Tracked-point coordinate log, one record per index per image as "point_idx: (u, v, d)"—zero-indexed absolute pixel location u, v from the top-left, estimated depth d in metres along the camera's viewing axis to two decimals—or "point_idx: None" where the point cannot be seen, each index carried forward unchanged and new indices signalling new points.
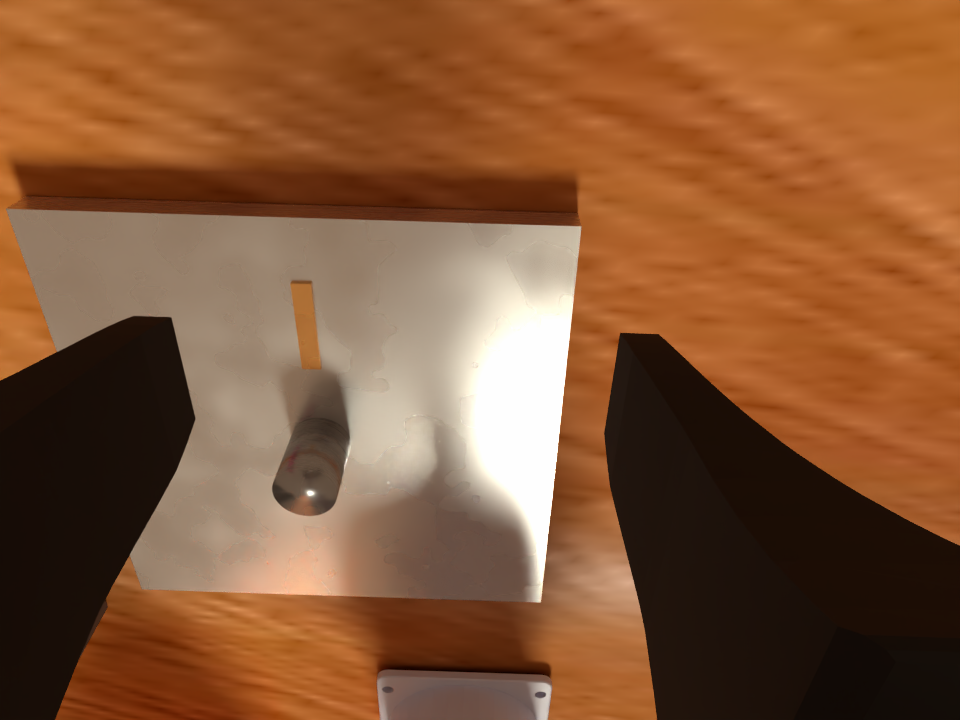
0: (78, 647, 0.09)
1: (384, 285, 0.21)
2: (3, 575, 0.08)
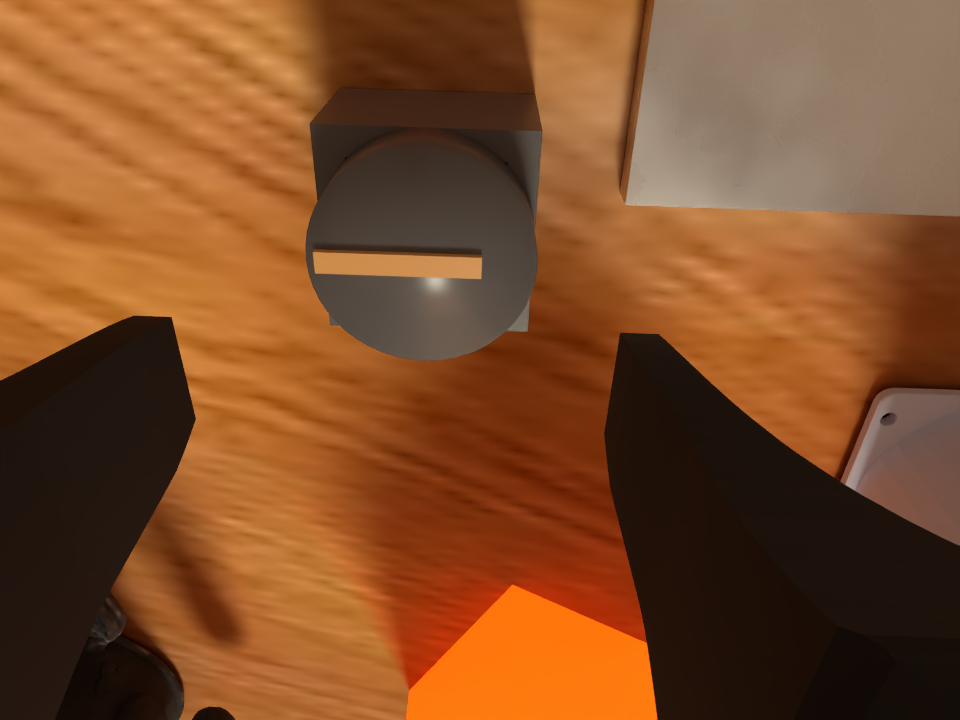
0: (78, 647, 0.09)
1: None
2: (3, 575, 0.08)
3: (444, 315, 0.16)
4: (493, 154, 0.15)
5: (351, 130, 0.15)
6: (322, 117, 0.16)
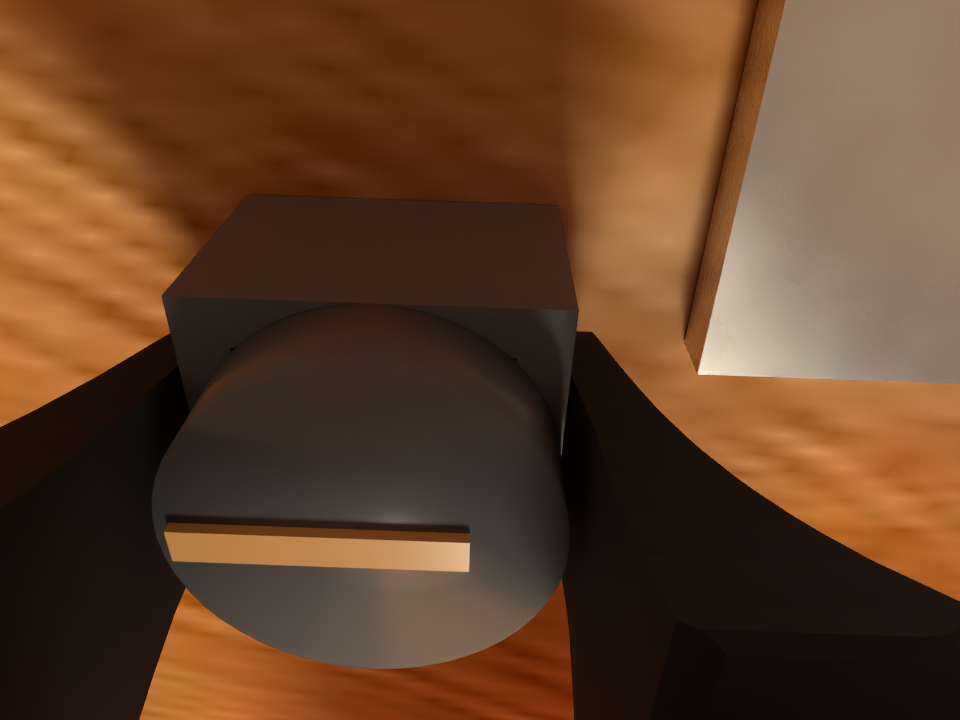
0: (157, 650, 0.09)
1: None
2: (98, 579, 0.08)
3: (406, 612, 0.09)
4: (491, 349, 0.09)
5: (238, 305, 0.09)
6: (190, 277, 0.09)
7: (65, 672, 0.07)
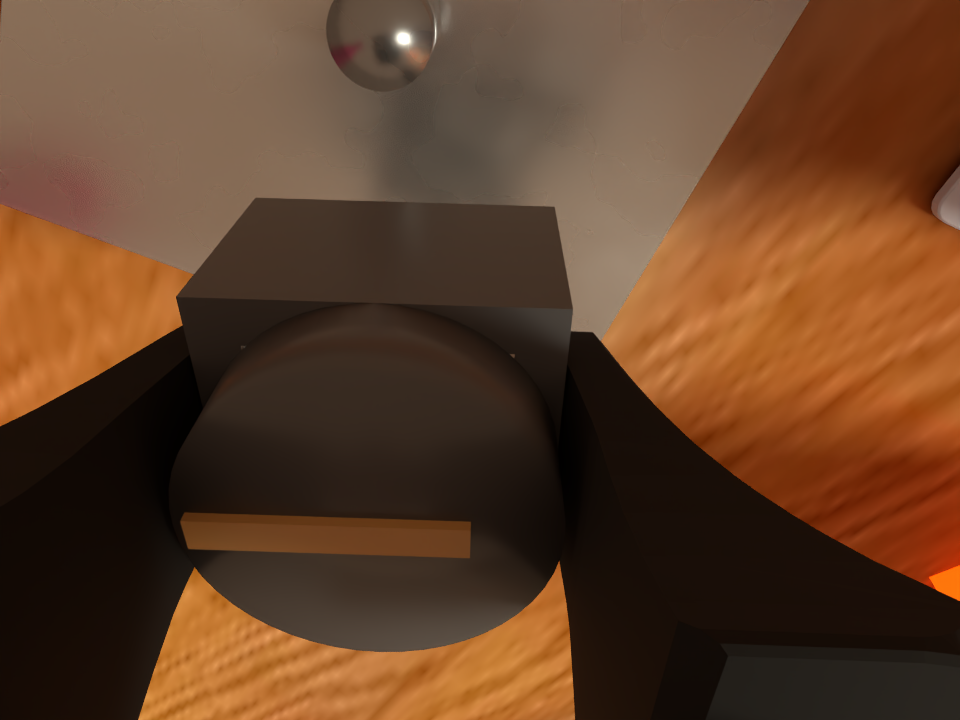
0: (156, 650, 0.09)
1: None
2: (97, 578, 0.08)
3: (410, 597, 0.10)
4: (489, 346, 0.09)
5: (248, 305, 0.09)
6: (203, 280, 0.09)
7: (64, 672, 0.07)
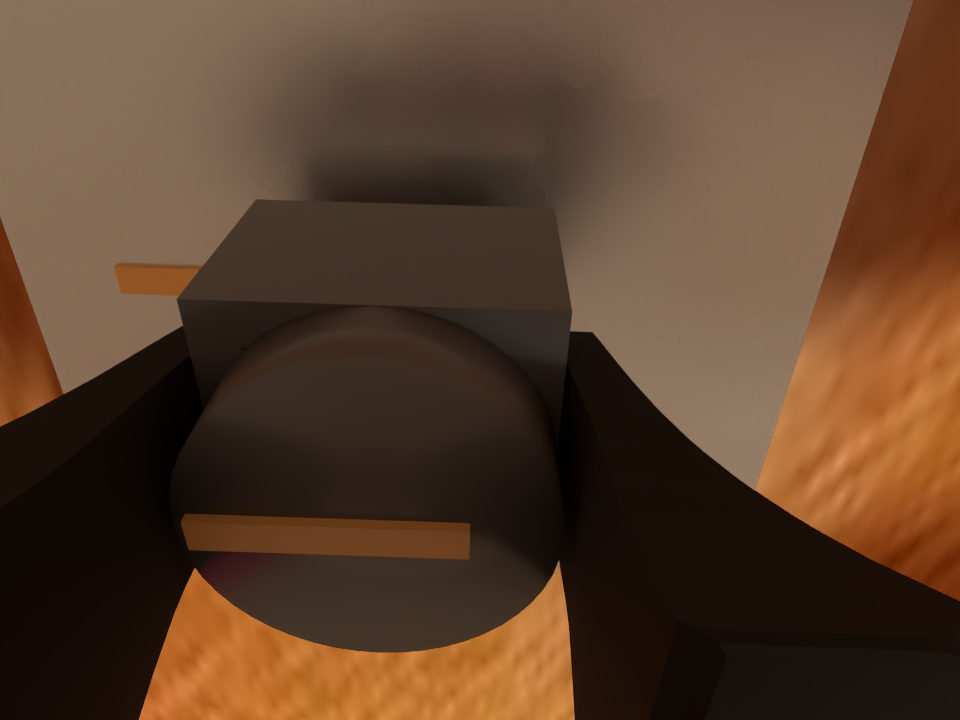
0: (157, 650, 0.09)
1: (86, 157, 0.13)
2: (97, 579, 0.08)
3: (410, 598, 0.10)
4: (489, 348, 0.09)
5: (248, 308, 0.09)
6: (203, 282, 0.09)
7: (64, 672, 0.07)
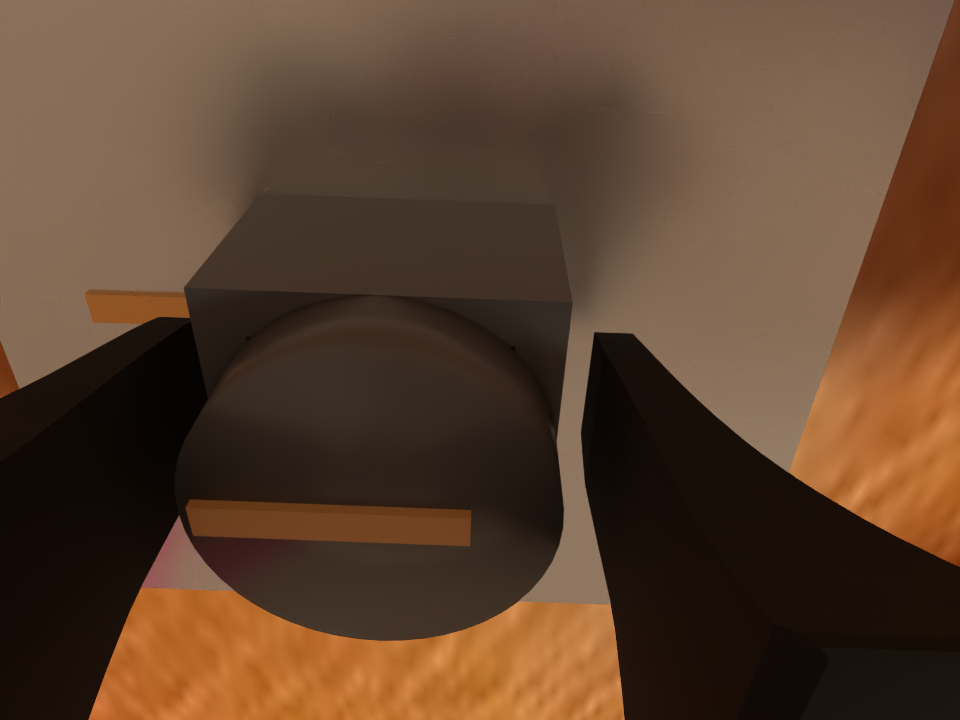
0: (109, 648, 0.09)
1: (52, 178, 0.12)
2: (41, 576, 0.08)
3: (410, 586, 0.10)
4: (491, 338, 0.09)
5: (254, 297, 0.09)
6: (209, 271, 0.09)
7: (4, 670, 0.07)
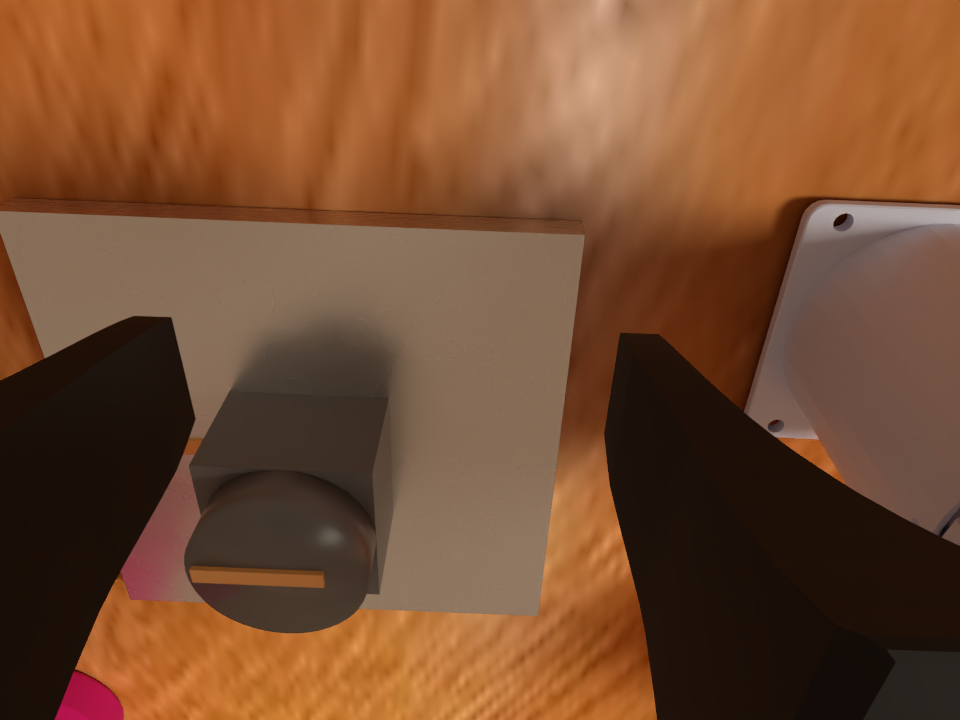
0: (78, 647, 0.09)
1: None
2: (3, 575, 0.08)
3: (299, 606, 0.20)
4: (334, 489, 0.19)
5: (222, 469, 0.19)
6: (201, 454, 0.20)
7: None
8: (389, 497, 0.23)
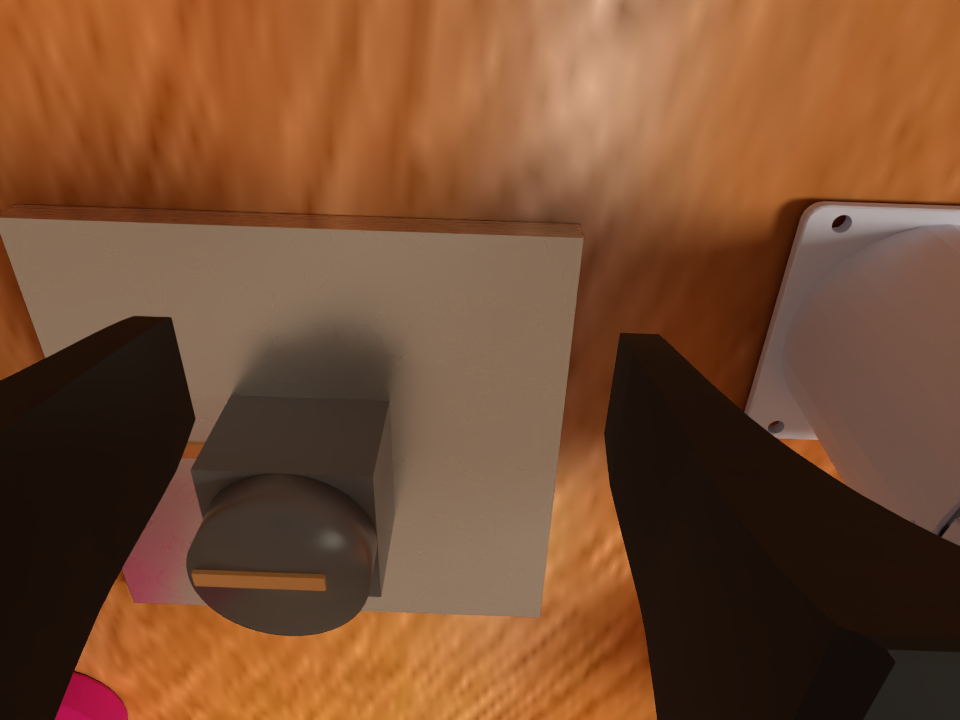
0: (78, 647, 0.09)
1: None
2: (3, 575, 0.08)
3: (301, 609, 0.20)
4: (335, 492, 0.19)
5: (223, 473, 0.19)
6: (202, 458, 0.20)
7: None
8: (390, 500, 0.24)
